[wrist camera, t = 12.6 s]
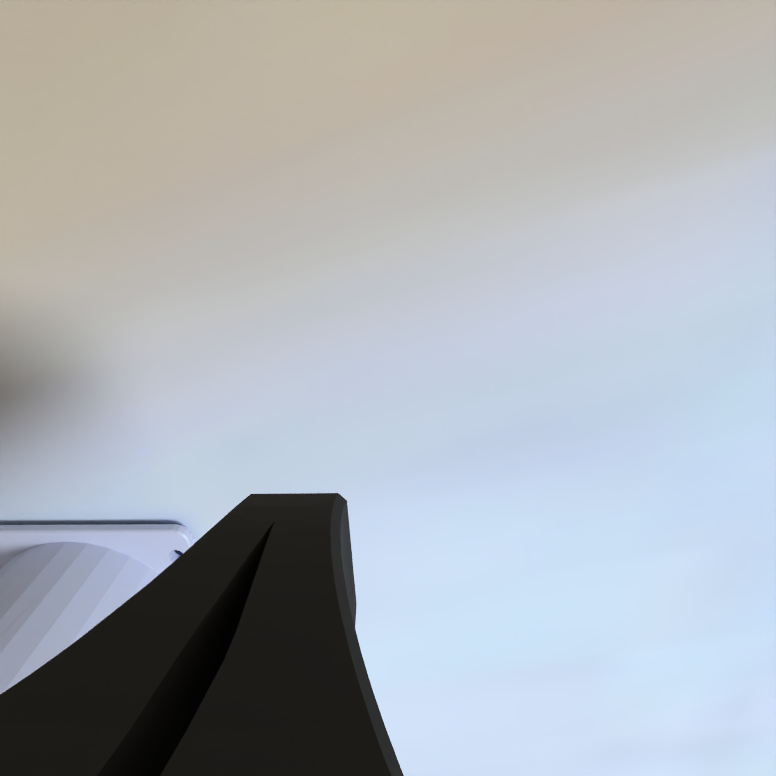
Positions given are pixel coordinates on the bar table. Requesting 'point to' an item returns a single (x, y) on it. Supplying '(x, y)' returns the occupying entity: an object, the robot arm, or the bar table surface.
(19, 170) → the bar table surface
